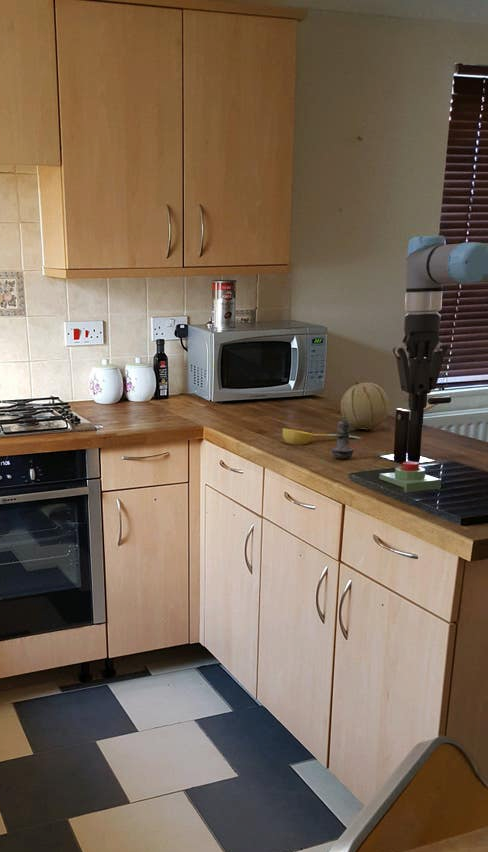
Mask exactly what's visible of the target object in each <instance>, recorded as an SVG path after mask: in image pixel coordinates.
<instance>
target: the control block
mask: <svg viewBox="0 0 488 852" xmlns="http://www.w3.org/2000/svg"><path fill="white" fill-rule="evenodd" d="M378 476H379V477H378V478H379V480H381V481H378V483H379V482H380V483H383V484H385V485H384V486H386V485H387V486H386V487H389V486H390V487H389V488H392V489H395V490H397V491H400V492H403V493H406V494H407V493H408V494H409V493H416V492H424V491H433V490H434V491H435V490H441V488H442V479H441V478H438V477H434V476H431V475H428V474H426V468H425V467H422V466H419V470H417V471H406V470H402V466H397V467H395V469H394V472H385V473H379V475H378ZM382 481H384V482H382ZM386 482H387V483H386ZM380 483H379V484H380ZM388 483H390V484H388ZM383 484H382V485H383ZM391 484H392V485H391ZM394 485H396V486H398V487H396V486H394Z"/></svg>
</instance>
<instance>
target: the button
mask: <svg viewBox="0 0 488 852" xmlns="http://www.w3.org/2000/svg"><path fill="white" fill-rule="evenodd" d="M401 465H402V470H406V471H417V470H419V467H420V464H419V463H418V462H412V461H407V462H403V464H401Z"/></svg>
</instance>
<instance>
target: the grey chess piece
mask: <svg viewBox="0 0 488 852" xmlns="http://www.w3.org/2000/svg"><path fill="white" fill-rule="evenodd" d="M336 435H337V436H336V437H337V438H336V445H335V446H334V447H332V448H331V449H330V450H331V451H332V456H333V457H334V458H335V459H337V460H340V461H341V460H343V461H344V460H345V461H346V460H348V459H350V458H352V456H353V454H354V451H355V448H353V447H351V446H350V438H349V436H351V433H350V426H349V422H348V421H347V420H345V417H343V416H342V419H341V420H339V421H338V423H337V433H336Z"/></svg>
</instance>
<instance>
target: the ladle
mask: <svg viewBox="0 0 488 852" xmlns="http://www.w3.org/2000/svg"><path fill="white" fill-rule="evenodd" d="M336 434H337V433H336ZM336 434H335V433H330V434H329V433H327V434H326V433H325V434H324V433H321V434H320V433H315V434H314V433H311V432H306V431H301V430H297V429H291V428H290V429H289V428H284V427H283V428H282V437H283V440H284V441H285V442H286V443H287V444H288V445H290V446H291V445H292V446H302V445H303V446H304V445H307V444H309V443H310V442H311V440H312V438H313V437H337V435H336ZM349 439H354V440H359V439H361V437H359V436H355V435H350V436H349Z"/></svg>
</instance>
